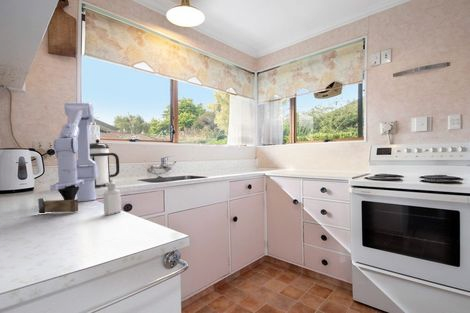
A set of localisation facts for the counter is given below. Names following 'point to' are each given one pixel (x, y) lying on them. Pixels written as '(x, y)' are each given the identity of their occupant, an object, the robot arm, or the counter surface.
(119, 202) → the eye dropper bottle
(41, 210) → the gate post
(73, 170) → the robot arm
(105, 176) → the coffee press
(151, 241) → the counter surface
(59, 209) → the gate
